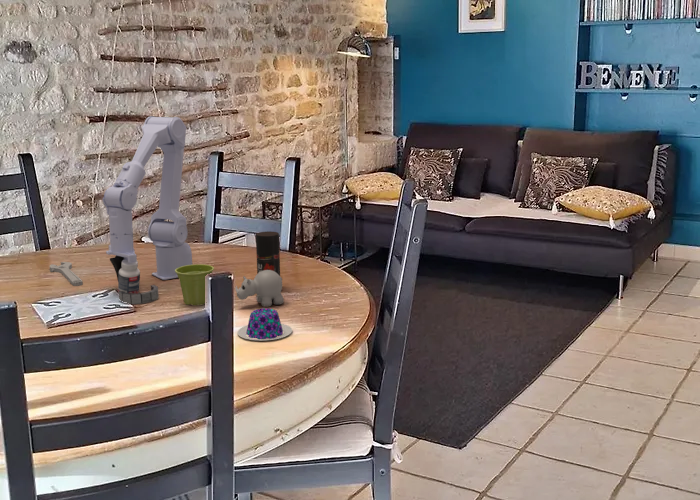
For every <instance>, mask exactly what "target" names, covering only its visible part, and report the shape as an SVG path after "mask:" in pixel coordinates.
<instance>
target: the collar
mask: <svg viewBox="0 0 700 500" xmlns="http://www.w3.org/2000/svg"><path fill="white" fill-rule="evenodd" d="M117 292H119V293H118V300H119V299H120V300H121V301H123V302H127V303H129V304H128V305H142V304H149V303H153V302H154V301H156V300H158V299H159V297H160V296H159V287H158V286H157V285H155V284H153V285H150V290H149V291H144V292H139V293H125V292H124V291H118V290H117Z"/></svg>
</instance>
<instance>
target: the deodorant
mask: <svg viewBox="0 0 700 500" xmlns="http://www.w3.org/2000/svg"><path fill="white" fill-rule="evenodd" d="M255 247H256V248H255V250H256V271H257V274H258V273H259V272H261V271H264V270H272V271H274V272H276V273H277V274H278V275H279V276H280V277H281V262H280V261H281V260H280V259H281V258H280V254H281V253H280V233H279V232H276V231H268V230H267V231H260V232H257V233H255ZM257 274H256V275H257Z"/></svg>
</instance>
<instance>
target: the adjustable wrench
mask: <svg viewBox="0 0 700 500" xmlns="http://www.w3.org/2000/svg"><path fill="white" fill-rule="evenodd" d="M72 268H73V263H72V262H70V261H61V262H60V265H56V264H53V263H52V264H50V265H49V272H50V273H59V274H62V276H63V277H64V278H65V279H66V280H67V281H68V283H70V284H71V285H72V286H73V287H80V286H83V284H84V281H83V280H82V279H81V278H80V277H79V276H78V275H77V274H76V273H74V271H72V270H71V269H72Z"/></svg>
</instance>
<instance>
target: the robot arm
mask: <svg viewBox="0 0 700 500" xmlns="http://www.w3.org/2000/svg"><path fill="white" fill-rule="evenodd" d="M141 132H142V133H141V134H142V137H141V139H140V142H139V143H138V146H137V149H136V151H135V153H134V155H133V158H132V160H131V161H127V162H125V163H124V164H123V165H122V168H121V170H120V172H119V174H118V176H117V178H116V179H115V182H114V183H113V185H111V186H109V187H108V188H107V189H106V190H104V194H103V197H102V202H103V205H104V207H105V209H106V214H107V215H108V226H109V244H108V250H105V253H106V255H109V256H110V255H112V256H114V257H110V258H109V262H110V263H111V264H112V266H113V269H114V272H115V273H116V279H117V281H118V277H119V270H120V269H121V268H122V266H121V265H122V260H124V259H126V260H128V262H129V263H132V262H137V261H138V259H137V257H138V255H137V254H136V253H135V248H134V231H133V208H134V207H135V205H137V199H138V198H137V197H138V193H139V191H138V189H139V187H140V185H141V183H142V181H143V180H144V177H145V176H146V169H145V166H146V165H147V164H148V162H149V160H150V159H151V157H152V156H153V154H154V153H155V151H156V149H157V148H159V149H160V150H161V151H162V153H163V159H162V168H161V169H162V170H161V181H160V194H159V202H158V203H159V204H158V209H157V210H156V211H154V212H153V214H151V218H150V223H149V224H148V227H147V236H148V238H149V240H150V241H151V242H152V245H153V246H154V249H155V261H156V262H155V263H156V271H155V272H152V273H151V276H154V277H155V278H158V279H161V280H162V281H166V280H167V281H168V280H171V279H179V278H178V275H177V273H176V272H175V269H177V268H179V267H182V266H186V265H193V253H192V248H191V246H190V244H189V243H188V242H186V240H187V238H188V233H189V231H188V228H187V217H185V215H183V214H182V212H181V211H179V210H180V200H181V187H182V178H183V177H182V176H183V165H184V164H183V163H184V152H185V146H186V137H187V135H186V133H187V126H186V124H185V122H184V121H183V120H182V118H180V117H179V116H173V117H172V116H171V117H169V116H153V115H151V116H148V117H146V118H145V120H144V123H143V125H142V126H141ZM167 220H171V221H167Z"/></svg>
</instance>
